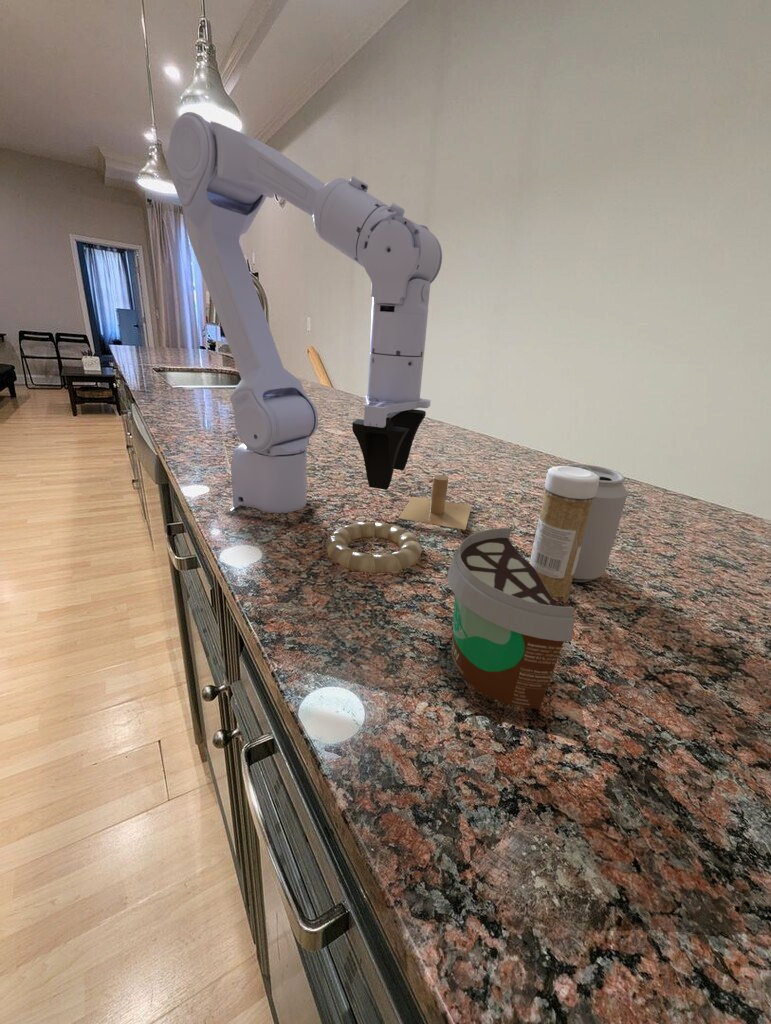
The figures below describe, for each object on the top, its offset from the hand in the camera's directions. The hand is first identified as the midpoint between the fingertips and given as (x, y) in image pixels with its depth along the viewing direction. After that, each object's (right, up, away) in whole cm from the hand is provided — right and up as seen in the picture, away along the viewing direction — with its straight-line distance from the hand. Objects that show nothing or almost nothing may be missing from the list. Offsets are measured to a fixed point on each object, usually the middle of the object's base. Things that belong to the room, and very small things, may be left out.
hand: (387, 477), depth 52 cm
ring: (-2, -8, -1) cm, 8 cm away
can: (+21, -11, 0) cm, 24 cm away
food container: (+7, -17, -17) cm, 25 cm away
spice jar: (+16, -13, -6) cm, 21 cm away
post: (+7, -5, +11) cm, 14 cm away
